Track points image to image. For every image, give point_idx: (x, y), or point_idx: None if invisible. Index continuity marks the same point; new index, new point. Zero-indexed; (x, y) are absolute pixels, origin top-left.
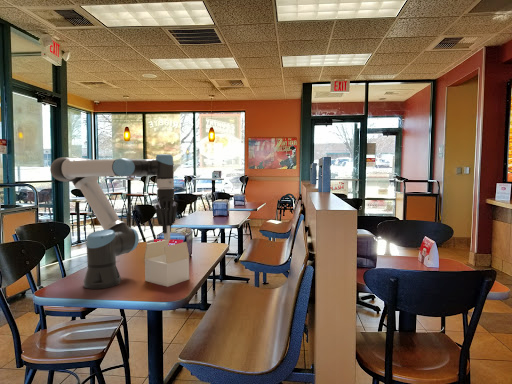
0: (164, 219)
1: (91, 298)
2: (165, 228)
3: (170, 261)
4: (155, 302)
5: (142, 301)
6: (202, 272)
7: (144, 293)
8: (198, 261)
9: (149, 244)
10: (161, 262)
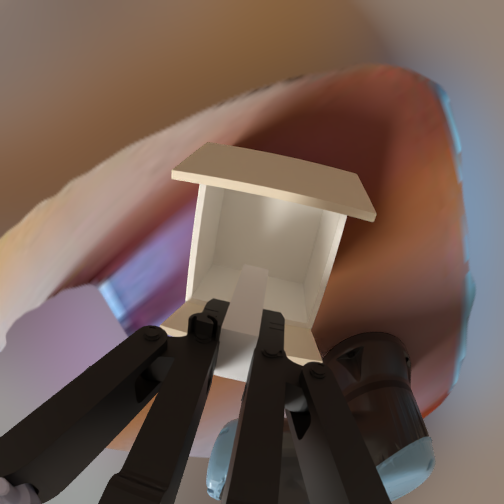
0: (282, 412)
1: (461, 309)
2: (273, 336)
3: (340, 171)
4: (456, 129)
5: (461, 169)
6: (138, 158)
7: (413, 205)
8: (60, 254)
9: (306, 356)
10: (340, 223)
